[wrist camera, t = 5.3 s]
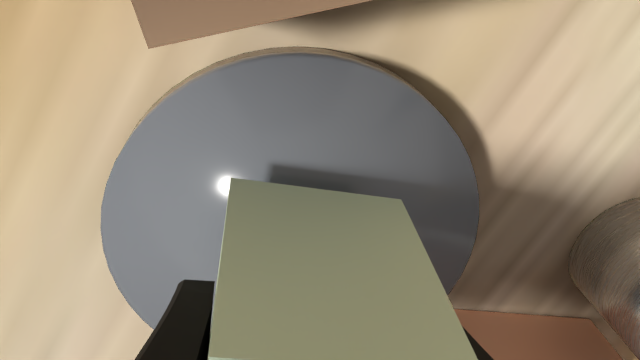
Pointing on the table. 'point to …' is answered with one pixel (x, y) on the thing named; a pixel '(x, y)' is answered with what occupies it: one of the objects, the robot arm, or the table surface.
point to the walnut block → (217, 16)
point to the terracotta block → (536, 336)
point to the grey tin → (612, 269)
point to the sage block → (327, 280)
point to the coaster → (278, 163)
